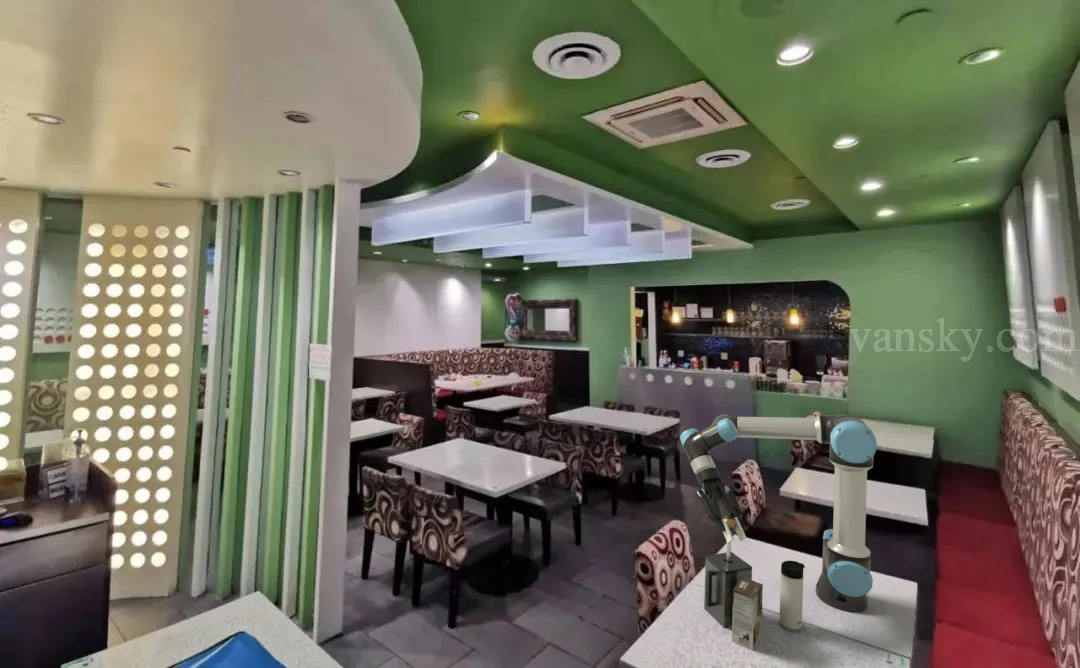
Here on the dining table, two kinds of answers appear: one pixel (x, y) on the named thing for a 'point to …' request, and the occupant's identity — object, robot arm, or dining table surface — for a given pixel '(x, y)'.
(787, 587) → the travel mug
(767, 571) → the dining table surface
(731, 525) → the plunger
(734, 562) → the press pot
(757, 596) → the coffee box
